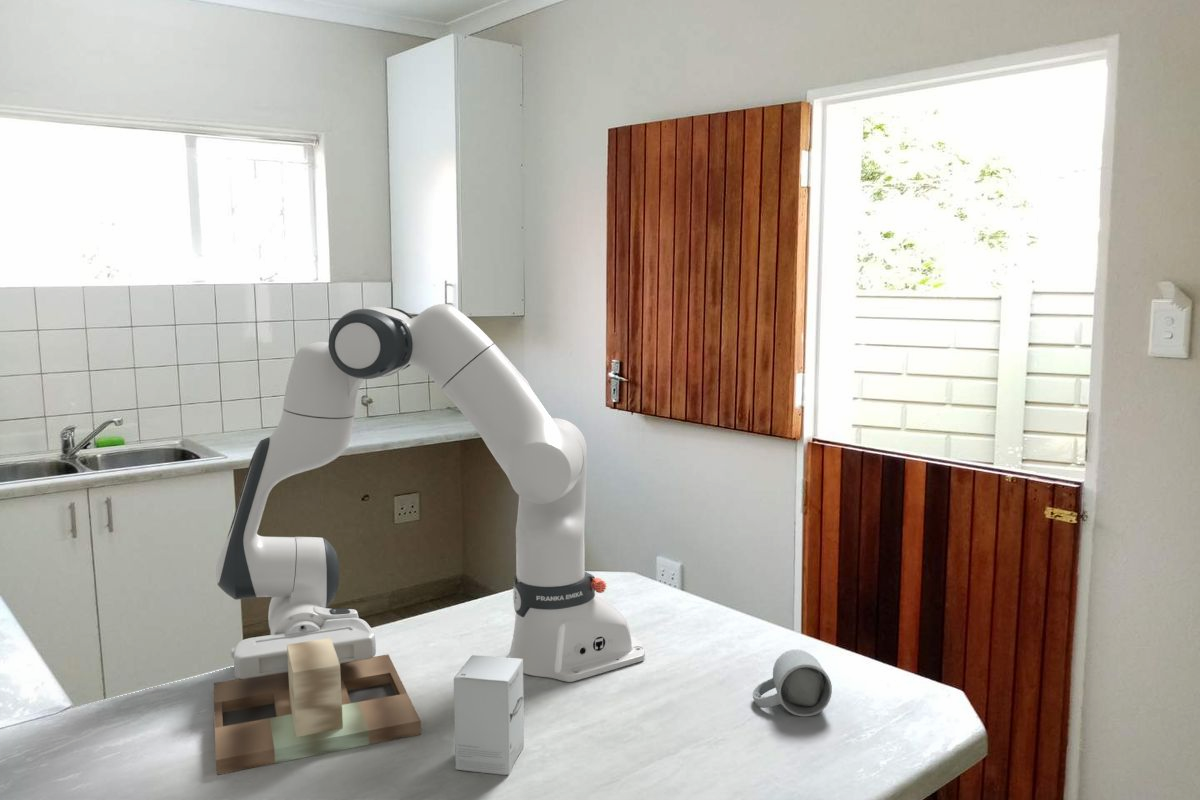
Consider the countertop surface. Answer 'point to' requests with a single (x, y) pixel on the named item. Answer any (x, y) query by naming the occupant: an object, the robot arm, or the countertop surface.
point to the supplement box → (489, 714)
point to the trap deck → (265, 724)
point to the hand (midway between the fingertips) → (310, 670)
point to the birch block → (314, 687)
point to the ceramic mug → (796, 685)
